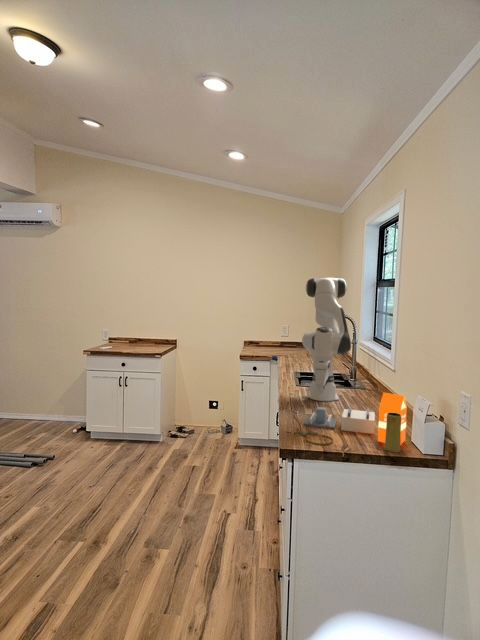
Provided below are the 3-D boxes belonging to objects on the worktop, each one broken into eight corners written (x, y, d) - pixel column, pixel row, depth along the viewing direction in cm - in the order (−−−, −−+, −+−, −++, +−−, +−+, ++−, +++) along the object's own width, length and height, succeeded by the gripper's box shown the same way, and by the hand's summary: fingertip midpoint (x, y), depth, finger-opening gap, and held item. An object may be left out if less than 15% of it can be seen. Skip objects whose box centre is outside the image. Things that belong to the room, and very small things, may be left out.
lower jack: (308, 417, 206) (308, 411, 206) (337, 420, 202) (337, 414, 201) (303, 425, 193) (303, 419, 192) (334, 429, 188) (334, 422, 188)
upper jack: (343, 421, 201) (344, 404, 200) (374, 424, 196) (374, 408, 196) (341, 430, 187) (341, 412, 187) (374, 434, 183) (374, 416, 183)
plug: (317, 419, 200) (317, 406, 199) (325, 420, 198) (326, 407, 198) (316, 421, 196) (316, 409, 195) (324, 422, 195) (325, 409, 194)
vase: (400, 453, 161) (402, 417, 160) (383, 451, 163) (385, 415, 162) (400, 448, 166) (402, 413, 166) (384, 445, 169) (386, 411, 168)
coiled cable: (325, 433, 184) (325, 428, 184) (337, 446, 168) (337, 441, 168) (298, 433, 183) (298, 429, 182) (307, 446, 167) (308, 441, 167)
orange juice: (384, 436, 180) (386, 390, 179) (405, 441, 174) (407, 394, 173) (377, 441, 174) (379, 394, 173) (399, 446, 168) (401, 397, 167)
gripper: (319, 358, 206) (318, 385, 207) (313, 365, 187) (312, 395, 188) (332, 359, 204) (331, 386, 205) (327, 366, 185) (326, 397, 186)
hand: (321, 391), depth 196 cm, fingers open, 8 cm apart
